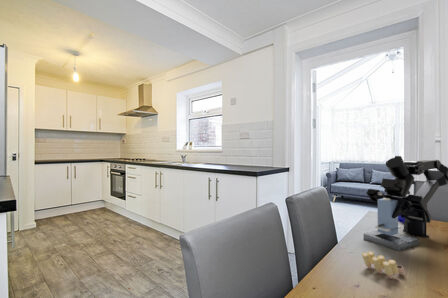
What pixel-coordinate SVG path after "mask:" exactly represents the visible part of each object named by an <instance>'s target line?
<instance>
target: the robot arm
mask: <svg viewBox="0 0 448 298" xmlns="http://www.w3.org/2000/svg"><path fill="white" fill-rule="evenodd" d="M385 165H386V168H387V169H388V171H389V173H390V175H391V176H392V177H395V178H382V179H381V184H380V187H381V188H383V189H384V190H383V191H384V192H385V193H384V192H381V191H380V190H379V189H375V188H368V189H367V191H366V192H365V193H366V195H367V197H368V198H369V199H370V201H372V202H374V203H378V199H383V198H389V199H392V200H398V205H397V207H396V208H395V210H394V212H393V215H392V218H396V217H398V216H399V215H401V217H402V218H405V221H404V223H403V229H402V231H403V232H404V233H405V234H406V235H408V236H411V237H421V238H430V235H429V234H427V224H428V223H429V224H430V223H431V221H432V215H431V214H430V212H429V210H428V203H429V201H430V200H431V199H432V198H433V196H434V195H435V193H436V191H437V190H438V189H439V188H440V187H442V186H443V187H444V186H446V185H447V184H448V166H445V164H443V163H442V162H441V160H439V159H433V158H432V159H431V158H430V159H427V158H426V159H423V160H403V157H402V155H395V156H394V157H392V158H389V159H388V160H386V161H385ZM421 174H423V175H424V177H425V179H426V180H425V181H424V183H422V185H421V186H420V188H419V189H418V190H417V192H415V194H411V192H410V189H411V187H412V185H415V184H416V181H415V176H420V175H421Z"/></svg>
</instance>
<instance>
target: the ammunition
mask: <svg viewBox="0 0 448 298" xmlns="http://www.w3.org/2000/svg"><path fill="white" fill-rule="evenodd" d="M361 256H362V259H363V261H364V264H365V266H366V267H367V268H368V269H369V270H370V269H371V268H372V265H373V266H374V269H375V271H376V272H377V273H378V274H382V273H383V270H384V272H385V273H386V276H387V278H388V279H390V280H392V279H394V274H399V275H401V276H403V275H405V268H404V267H403V265H402V264H397V262H396V260H395V259H388V260H386V258H385V256H384V255H381V254H379V255H376V256H375V252H374V251H373V250H372V251H371V250H369V251H367V252H362V253H361Z"/></svg>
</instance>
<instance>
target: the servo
mask: <svg viewBox="0 0 448 298" xmlns="http://www.w3.org/2000/svg"><path fill="white" fill-rule="evenodd" d="M397 205H398V200H392V199H389V198H383V199H378V202H377V225H375V226H374V229H377V230H378V232H380V233H383V234H386V235H390V236H392V235H395V234H398V233H399V229H402V226H401V225H399V221H398V217H396V218H392V215H393V212H394V210H395V208H396V207H397Z"/></svg>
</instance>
